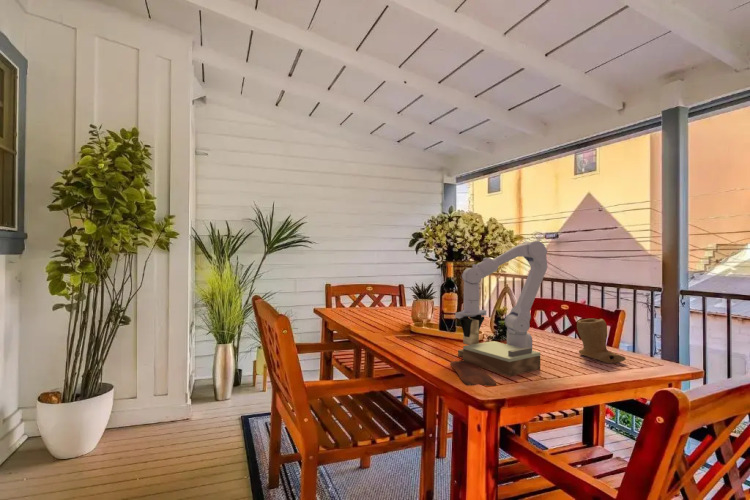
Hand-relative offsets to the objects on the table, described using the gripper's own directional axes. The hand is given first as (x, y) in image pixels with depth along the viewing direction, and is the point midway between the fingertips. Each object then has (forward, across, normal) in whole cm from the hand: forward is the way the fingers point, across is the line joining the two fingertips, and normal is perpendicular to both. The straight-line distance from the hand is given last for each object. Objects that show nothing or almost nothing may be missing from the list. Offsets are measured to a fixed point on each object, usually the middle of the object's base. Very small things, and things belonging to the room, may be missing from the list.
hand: (471, 335), depth 153 cm
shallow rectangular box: (+8, 0, +10) cm, 13 cm away
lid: (+3, 0, +14) cm, 14 cm away
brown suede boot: (+8, -38, +27) cm, 47 cm away
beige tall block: (+3, 0, 0) cm, 3 cm away
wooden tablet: (+8, +15, +14) cm, 22 cm away
